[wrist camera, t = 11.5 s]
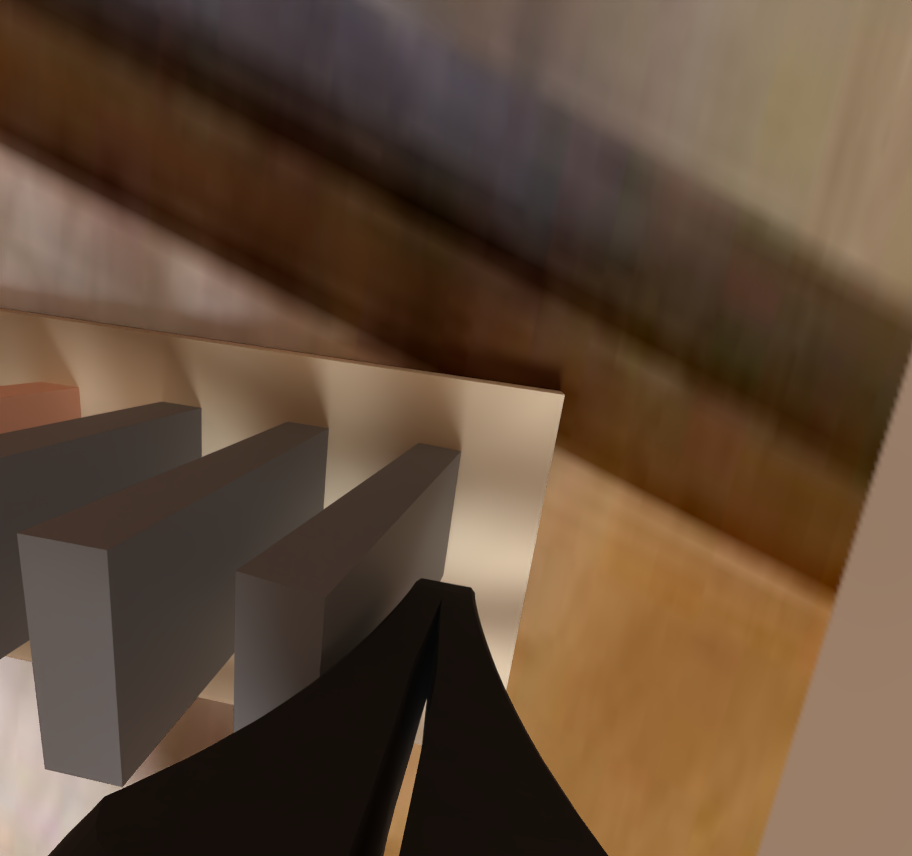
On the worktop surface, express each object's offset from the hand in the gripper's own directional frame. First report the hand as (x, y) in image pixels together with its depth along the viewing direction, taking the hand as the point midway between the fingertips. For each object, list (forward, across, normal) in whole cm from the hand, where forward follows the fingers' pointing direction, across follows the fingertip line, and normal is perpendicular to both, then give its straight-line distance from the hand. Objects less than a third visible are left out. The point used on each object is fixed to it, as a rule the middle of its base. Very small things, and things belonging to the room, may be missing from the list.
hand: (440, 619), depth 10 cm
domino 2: (+6, +6, 0) cm, 9 cm away
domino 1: (+6, +1, 0) cm, 6 cm away
